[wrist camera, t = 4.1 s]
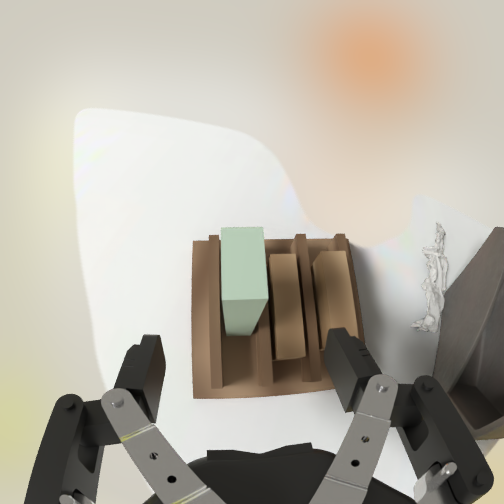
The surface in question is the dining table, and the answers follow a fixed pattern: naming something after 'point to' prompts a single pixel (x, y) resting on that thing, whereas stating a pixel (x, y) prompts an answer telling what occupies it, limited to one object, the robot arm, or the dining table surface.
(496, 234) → the planter
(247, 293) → the pale green block
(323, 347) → the offcut
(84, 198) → the dining table surface
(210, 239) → the rack
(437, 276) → the white statue
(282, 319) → the offcut
